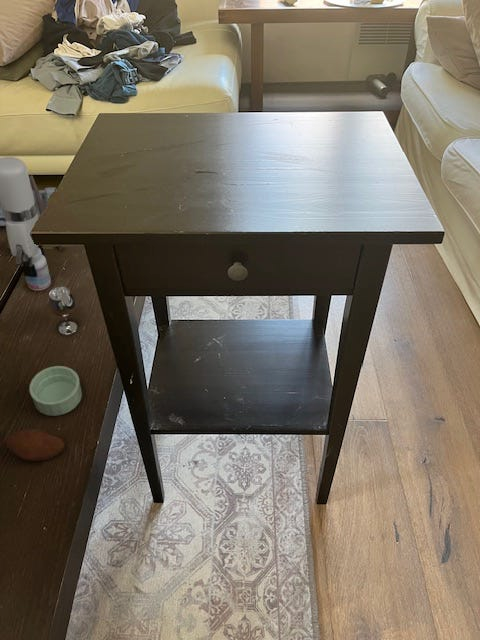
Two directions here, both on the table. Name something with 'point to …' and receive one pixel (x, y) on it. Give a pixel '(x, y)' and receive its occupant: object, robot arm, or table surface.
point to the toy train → (43, 199)
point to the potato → (34, 444)
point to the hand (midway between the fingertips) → (35, 267)
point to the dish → (56, 390)
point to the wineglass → (63, 307)
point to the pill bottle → (39, 272)
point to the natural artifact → (38, 197)
